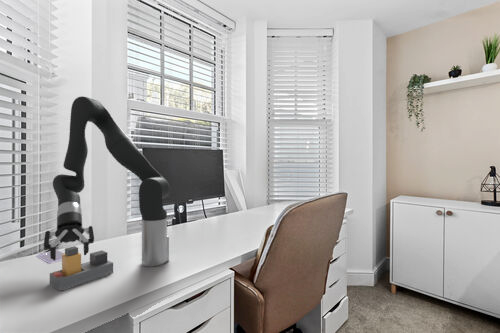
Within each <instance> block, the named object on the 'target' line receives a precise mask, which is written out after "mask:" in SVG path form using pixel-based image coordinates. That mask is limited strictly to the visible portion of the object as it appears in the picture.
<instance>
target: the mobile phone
mask: <svg viewBox="0 0 500 333" xmlns="http://www.w3.org/2000/svg"><path fill="white" fill-rule="evenodd" d="M63 254H65V252H62V251H60V250H59V249H58V250H57V249H56V260H54V261H53V259H51V258H50V251H47V252H46V251H45V252H43V253H39V254H36V257H37V258H39V259H41V260H42V261H44V262H45V261H46V263H47V262H48V263H47V264H53V263H52V262H54V263H58V262H60V260H62V255H63ZM57 261H58V262H57Z"/></svg>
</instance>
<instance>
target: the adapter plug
mask: <svg viewBox="0 0 500 333" xmlns="http://www.w3.org/2000/svg"><path fill="white" fill-rule="evenodd" d="M81 264H82V253H80V252H79V247H78V246H70V247H66V248H64V254H63V255H62V261H61V270H62V276H64V277H66V276H69V275H72V274H75V273H79V272H81Z"/></svg>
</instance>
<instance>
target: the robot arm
mask: <svg viewBox="0 0 500 333" xmlns="http://www.w3.org/2000/svg"><path fill="white" fill-rule="evenodd" d="M88 122H90V123H92V124H94V125H95V126H96V127H97V128H98V129H99V131H100V132H101V133H102V135H103V138H104V143H105V146H106V149H107V150H108V152H109V153H110V155H111V156H112V157H113V158H114V159H115V161H116V162H117V163H119V164H120V165H121V166H122V167H124V168H125V169H126V170H128V171H130V172H131V173H133V174H134V175H135V176H136V177H137V178H138V179H139V180H140V181H141V183H140V185H139V188H138V207H139V209H138V210H139V213H140V214H141V215H140V216H141V265H142V266H144V267H158V266H162V265H164V264H165V263H166V262H167V261H169V260H170V236H168V212H167V210H166V209H164V204H163V199H166V198H167V197H168V196H169V195H170V192H171V187H170V183H169V182H168V180H166V178H165V177H164V176H163V175H162V174H161V173H159V171H158V170H156V168H155V167H153V165H152V164H151V163H150V162H149V161H148V159H147V158H146V157H145V155H144V154H143V153H142V152H141V150H139V148H138V146H137V145H136V144H135V142H133V140H132V139H131V138H130V137H129V136H128V135H127V134H126V133H125V132H124V130H123V129H122V128H121V126H120V125H118V123H117V122H116V121H115V120H114V118H113V116H112V115H111V113H110V111H109V110H108V108H107V107H106V106H105V105H104V103H102V102H101V101H99V100H97V99H93V98H90V97H88V96H77V97H76V98H75V99H74V100H73V102H72V105H71V107H70V122H69V134H68V135H69V138H68V144H67V150H66V153H65V157H64V161H63V165H62V166H63V168H64V169H65V170H68V171H71V172H73V173H75V175H72V174H71V175H70V174H62V173H61V174H58V175H56V176H55V177H54V178H53V180H52V189H53V190H54V193H55V195H56V198H57V212H56V230H55V231H52V232H51V231H49V230H46V231H45V233H44V239H43V250H44V251H49V252H50V258H51V259H53V261H54V260H56V250H57V248H58V247H59V246H61V245H62V244H63V243H64V244H67V243H74V242H78V243H80V244H82V245H83V255H84V256H86V255H87V254H89V250H90V248H89V245H91V244H94V242H95V235H94V229H93V228H94V227H93V226H92V225H89V226H88V227H85V228H84V227H83V216H82V215H83V214H82V206H81V195H80V194H79V193H81V192H82V191H83V190H84V189H85V176H84V175H85V174H84V172H85V166H86V165H85V164H86V160H87V157H88V152H89V151H88V150H89V149H88V144H87V138H86V128H87V125H88ZM84 233H86V235H88V238H87V237H85V235H84ZM53 237H56V238H55V240H54V241H53V242H52V243H51V244H50V241H51V239H53Z"/></svg>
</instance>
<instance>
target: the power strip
mask: <svg viewBox="0 0 500 333" xmlns="http://www.w3.org/2000/svg"><path fill="white" fill-rule="evenodd" d="M110 274H114V262H113V261H109V260H108V251H104V250H98V251H95V252H91V253H89V261H87V262H84V263H83V262H82V263H81V272H79V273H75V274H72V275H69V276H66V277H64V276H62V269H60V270H56V271H52V272H50V273H49V285H51V287H52V288H54V289H56V290H58V291H59V290H60V292H61V290H62V291H64V289H65V290H67V288H68V289H70V288H73V287H76V286H78V284H79V285H81V283H82V284H84V283H87V282H89V281H93V280H96V279H100V278H102V277H105V276H107V275H110ZM75 285H76V286H75ZM72 286H73V287H72Z"/></svg>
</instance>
